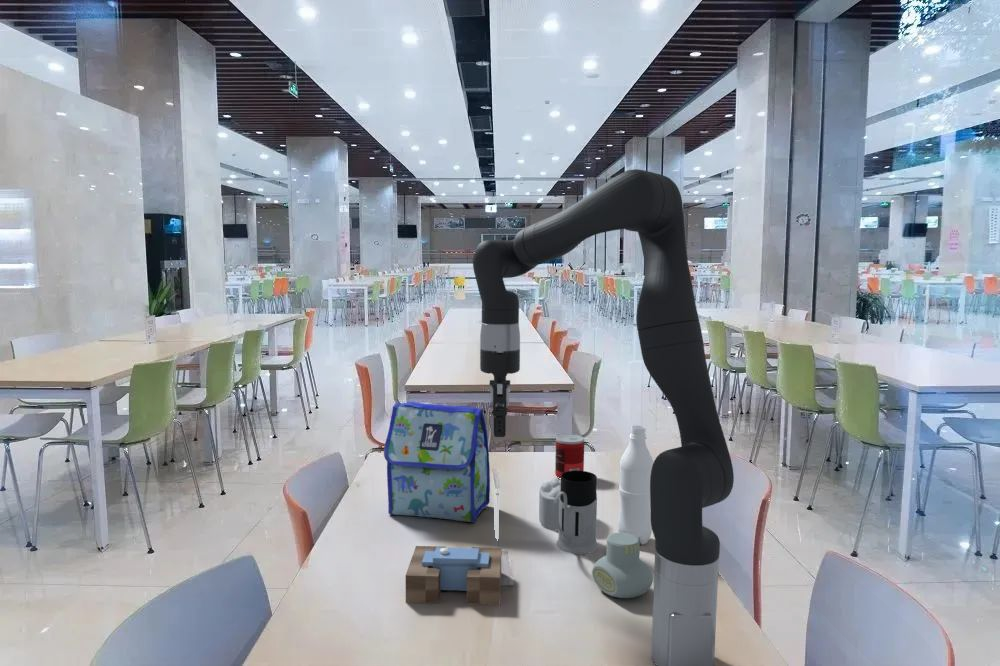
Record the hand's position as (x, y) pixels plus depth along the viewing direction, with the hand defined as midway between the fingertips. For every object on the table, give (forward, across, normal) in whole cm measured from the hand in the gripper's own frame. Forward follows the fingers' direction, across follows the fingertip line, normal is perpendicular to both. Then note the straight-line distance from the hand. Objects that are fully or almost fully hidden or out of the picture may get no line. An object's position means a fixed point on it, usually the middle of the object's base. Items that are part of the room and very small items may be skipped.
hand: (499, 430), depth 129 cm
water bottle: (+28, -13, +29) cm, 42 cm away
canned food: (+28, -54, +19) cm, 64 cm away
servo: (+27, +8, -8) cm, 29 cm away
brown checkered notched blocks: (+27, +8, -8) cm, 30 cm away
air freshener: (+28, +9, +22) cm, 37 cm away
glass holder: (+28, -8, +15) cm, 33 cm away
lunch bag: (+28, -28, -14) cm, 42 cm away
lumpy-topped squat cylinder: (+28, -25, +14) cm, 40 cm away
